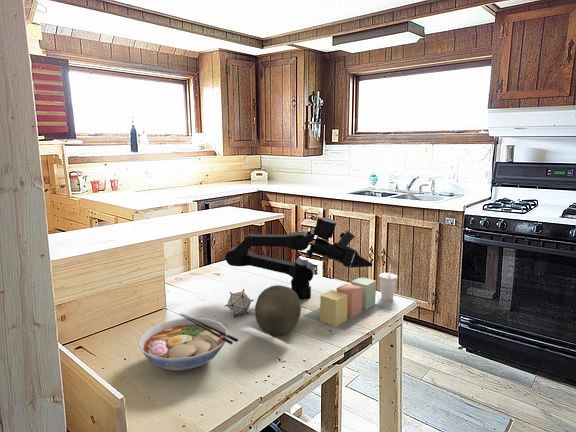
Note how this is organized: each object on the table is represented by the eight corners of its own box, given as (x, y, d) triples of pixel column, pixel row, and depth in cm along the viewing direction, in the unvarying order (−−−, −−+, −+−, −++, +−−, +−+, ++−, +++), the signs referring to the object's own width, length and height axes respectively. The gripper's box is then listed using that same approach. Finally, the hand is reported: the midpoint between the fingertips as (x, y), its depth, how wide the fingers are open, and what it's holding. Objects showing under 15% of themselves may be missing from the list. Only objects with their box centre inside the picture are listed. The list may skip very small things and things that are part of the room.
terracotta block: (336, 312, 139) (336, 288, 137) (346, 307, 143) (347, 283, 141) (351, 317, 135) (352, 292, 133) (361, 311, 139) (362, 287, 137)
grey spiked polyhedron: (234, 325, 140) (214, 303, 139) (246, 308, 147) (228, 287, 145) (250, 320, 135) (230, 296, 133) (263, 302, 141) (244, 280, 139)
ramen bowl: (122, 360, 112) (120, 331, 111) (196, 332, 128) (195, 307, 126) (170, 401, 95) (168, 368, 93) (249, 363, 110) (248, 334, 109)
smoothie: (391, 306, 146) (393, 267, 144) (374, 302, 150) (376, 264, 148) (399, 300, 151) (401, 263, 149) (382, 296, 155) (384, 260, 153)
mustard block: (320, 320, 132) (320, 295, 131) (331, 314, 137) (331, 290, 135) (335, 326, 128) (336, 300, 127) (346, 320, 133) (347, 294, 131)
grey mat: (303, 319, 137) (303, 315, 136) (345, 297, 154) (345, 294, 154) (344, 334, 126) (344, 330, 126) (384, 309, 144) (384, 306, 143)
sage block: (350, 304, 145) (351, 281, 143) (360, 299, 149) (361, 276, 148) (365, 309, 141) (366, 285, 139) (375, 304, 145) (376, 280, 144)
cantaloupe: (245, 333, 127) (243, 286, 124) (281, 320, 136) (281, 275, 133) (274, 351, 116) (273, 300, 113) (311, 336, 125) (311, 288, 122)
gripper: (335, 227, 138) (381, 242, 137) (334, 228, 157) (374, 241, 156) (325, 259, 138) (371, 275, 137) (325, 256, 157) (365, 270, 155)
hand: (370, 264), depth 146 cm, fingers open, 9 cm apart
